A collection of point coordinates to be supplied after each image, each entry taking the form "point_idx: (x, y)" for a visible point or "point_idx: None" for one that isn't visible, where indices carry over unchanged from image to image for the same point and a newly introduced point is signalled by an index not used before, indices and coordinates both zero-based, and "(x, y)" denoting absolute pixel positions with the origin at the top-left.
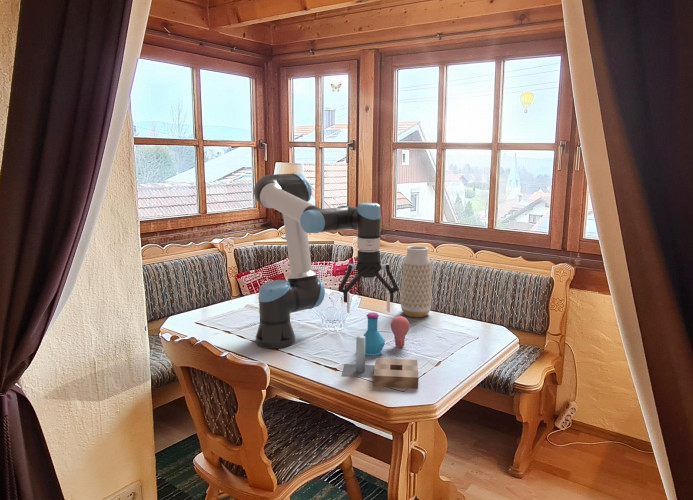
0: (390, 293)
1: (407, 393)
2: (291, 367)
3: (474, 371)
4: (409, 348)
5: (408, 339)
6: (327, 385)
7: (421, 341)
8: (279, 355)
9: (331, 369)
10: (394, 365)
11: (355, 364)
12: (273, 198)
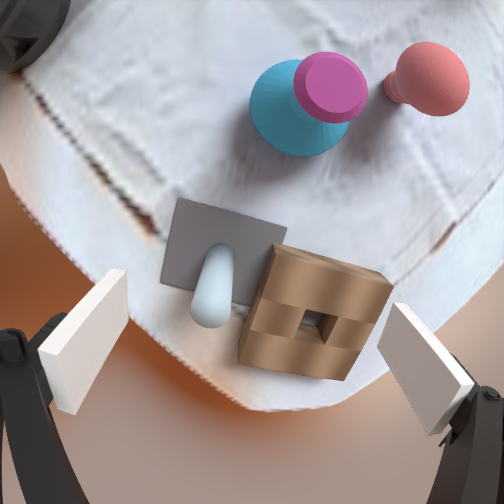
0: (450, 419)
1: None
2: (41, 197)
3: (478, 291)
4: (417, 112)
5: None
6: None
7: None
8: (19, 115)
9: (137, 224)
10: (317, 310)
11: (213, 208)
12: None
